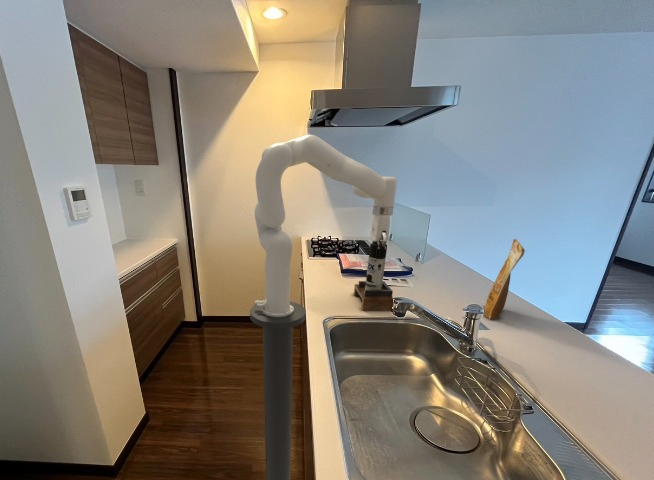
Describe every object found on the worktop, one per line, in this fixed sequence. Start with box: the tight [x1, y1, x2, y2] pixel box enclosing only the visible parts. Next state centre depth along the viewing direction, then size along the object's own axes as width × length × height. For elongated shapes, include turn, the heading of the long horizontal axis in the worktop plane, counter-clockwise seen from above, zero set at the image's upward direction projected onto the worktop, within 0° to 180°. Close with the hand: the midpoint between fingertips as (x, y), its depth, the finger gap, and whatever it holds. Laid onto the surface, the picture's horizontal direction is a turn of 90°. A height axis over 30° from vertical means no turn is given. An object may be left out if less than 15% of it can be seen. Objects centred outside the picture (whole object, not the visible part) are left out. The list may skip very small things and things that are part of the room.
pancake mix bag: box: [484, 238, 525, 320], centre depth 119 cm, size 7×19×28 cm, turn 145°
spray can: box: [365, 242, 388, 290], centre depth 130 cm, size 7×7×20 cm
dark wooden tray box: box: [353, 280, 395, 312], centre depth 135 cm, size 12×18×7 cm, turn 177°
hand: (377, 256), depth 128 cm, fingers closed on spray can, 6 cm apart
